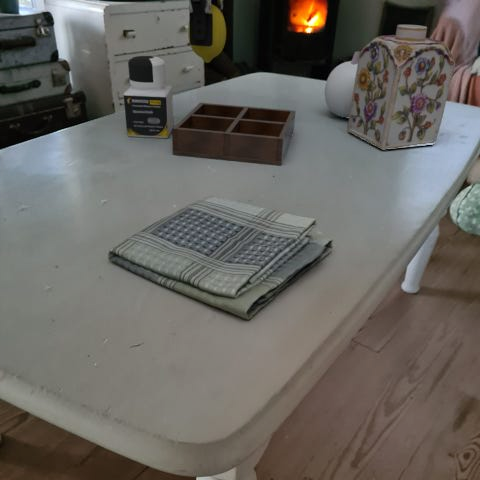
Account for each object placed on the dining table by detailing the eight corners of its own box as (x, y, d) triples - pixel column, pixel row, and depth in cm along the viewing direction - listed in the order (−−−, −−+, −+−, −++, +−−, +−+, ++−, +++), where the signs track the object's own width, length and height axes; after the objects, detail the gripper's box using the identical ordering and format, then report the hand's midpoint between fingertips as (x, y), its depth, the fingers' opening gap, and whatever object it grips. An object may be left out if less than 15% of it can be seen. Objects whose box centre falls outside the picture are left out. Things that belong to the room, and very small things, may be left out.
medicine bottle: (126, 137, 89) (119, 60, 82) (135, 125, 95) (129, 52, 88) (168, 139, 89) (164, 62, 82) (173, 127, 95) (171, 54, 88)
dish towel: (102, 263, 54) (98, 235, 52) (207, 208, 66) (207, 184, 64) (251, 328, 45) (253, 297, 44) (340, 251, 58) (344, 225, 56)
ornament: (363, 127, 99) (374, 58, 92) (314, 118, 103) (321, 51, 96) (379, 116, 106) (391, 51, 99) (333, 108, 110) (341, 45, 103)
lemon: (231, 62, 79) (233, 0, 74) (215, 67, 75) (215, 3, 70) (199, 58, 80) (199, -2, 76) (181, 63, 76) (180, 0, 72)
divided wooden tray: (172, 154, 82) (171, 128, 80) (200, 125, 96) (200, 102, 94) (281, 165, 80) (283, 138, 78) (293, 134, 94) (295, 110, 91)
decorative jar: (381, 152, 87) (404, 30, 77) (344, 132, 96) (361, 21, 85) (437, 146, 91) (467, 29, 80) (398, 128, 100) (420, 20, 89)
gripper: (195, -113, 73) (197, 33, 83) (155, -128, 59) (164, 49, 70) (247, -111, 72) (242, 36, 82) (220, -126, 58) (218, 53, 69)
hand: (206, 41), depth 76 cm, fingers closed on lemon, 5 cm apart
